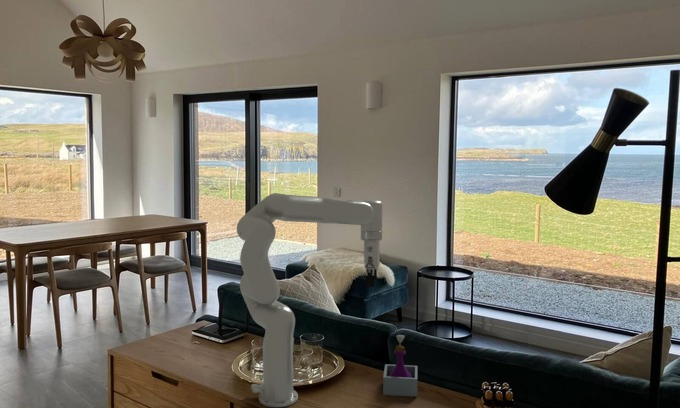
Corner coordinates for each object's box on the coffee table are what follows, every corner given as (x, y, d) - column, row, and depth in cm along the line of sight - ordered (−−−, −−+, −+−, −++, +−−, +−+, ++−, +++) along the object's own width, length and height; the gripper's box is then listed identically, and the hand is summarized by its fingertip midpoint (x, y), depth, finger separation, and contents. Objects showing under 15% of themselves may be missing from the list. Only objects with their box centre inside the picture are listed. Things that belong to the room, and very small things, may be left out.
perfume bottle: (410, 393, 185) (410, 340, 183) (387, 391, 186) (388, 338, 185) (411, 383, 192) (412, 332, 190) (389, 382, 194) (390, 331, 192)
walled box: (383, 394, 185) (383, 377, 185) (385, 380, 196) (385, 364, 196) (417, 396, 184) (417, 379, 183) (417, 382, 195) (417, 365, 194)
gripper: (380, 239, 188) (380, 289, 190) (383, 231, 205) (383, 277, 207) (358, 239, 189) (358, 289, 191) (363, 231, 206) (362, 277, 208)
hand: (371, 283), depth 199 cm, fingers open, 9 cm apart
